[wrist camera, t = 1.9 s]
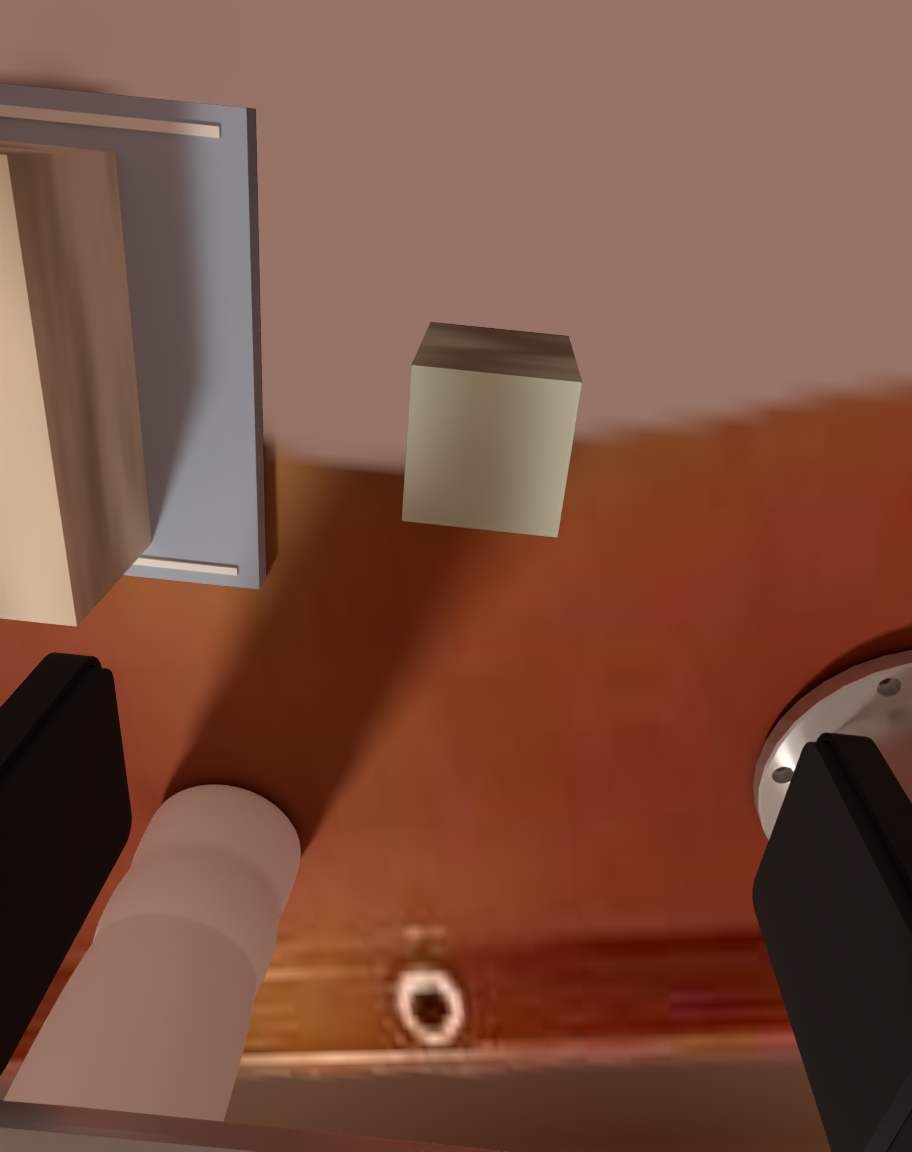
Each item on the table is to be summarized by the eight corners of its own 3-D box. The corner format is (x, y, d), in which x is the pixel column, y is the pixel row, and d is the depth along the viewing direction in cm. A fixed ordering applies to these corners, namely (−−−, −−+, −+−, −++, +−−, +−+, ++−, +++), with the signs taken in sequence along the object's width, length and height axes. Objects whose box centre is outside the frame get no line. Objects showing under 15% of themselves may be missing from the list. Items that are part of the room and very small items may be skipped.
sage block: (568, 336, 27) (582, 382, 22) (549, 466, 30) (557, 537, 24) (430, 321, 28) (411, 364, 22) (421, 452, 30) (402, 520, 24)
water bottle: (149, 768, 37) (-377, 1677, 15) (304, 784, 37) (1, 1723, 15) (161, 879, 41) (-256, 1758, 19) (304, 894, 41) (56, 1797, 18)
